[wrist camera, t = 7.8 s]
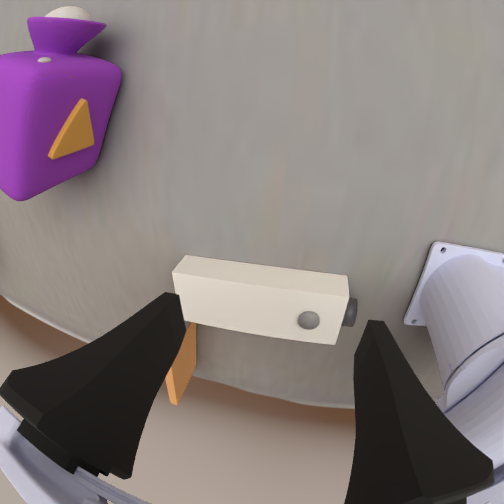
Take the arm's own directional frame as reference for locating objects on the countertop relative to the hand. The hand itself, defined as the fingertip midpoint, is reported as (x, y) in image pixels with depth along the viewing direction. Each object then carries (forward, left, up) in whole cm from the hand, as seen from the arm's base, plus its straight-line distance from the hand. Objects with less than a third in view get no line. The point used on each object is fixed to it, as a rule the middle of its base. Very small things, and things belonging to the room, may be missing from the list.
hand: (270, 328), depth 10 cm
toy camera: (+18, -11, -11) cm, 23 cm away
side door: (+9, +14, -10) cm, 20 cm away
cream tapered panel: (+2, +7, -10) cm, 12 cm away
